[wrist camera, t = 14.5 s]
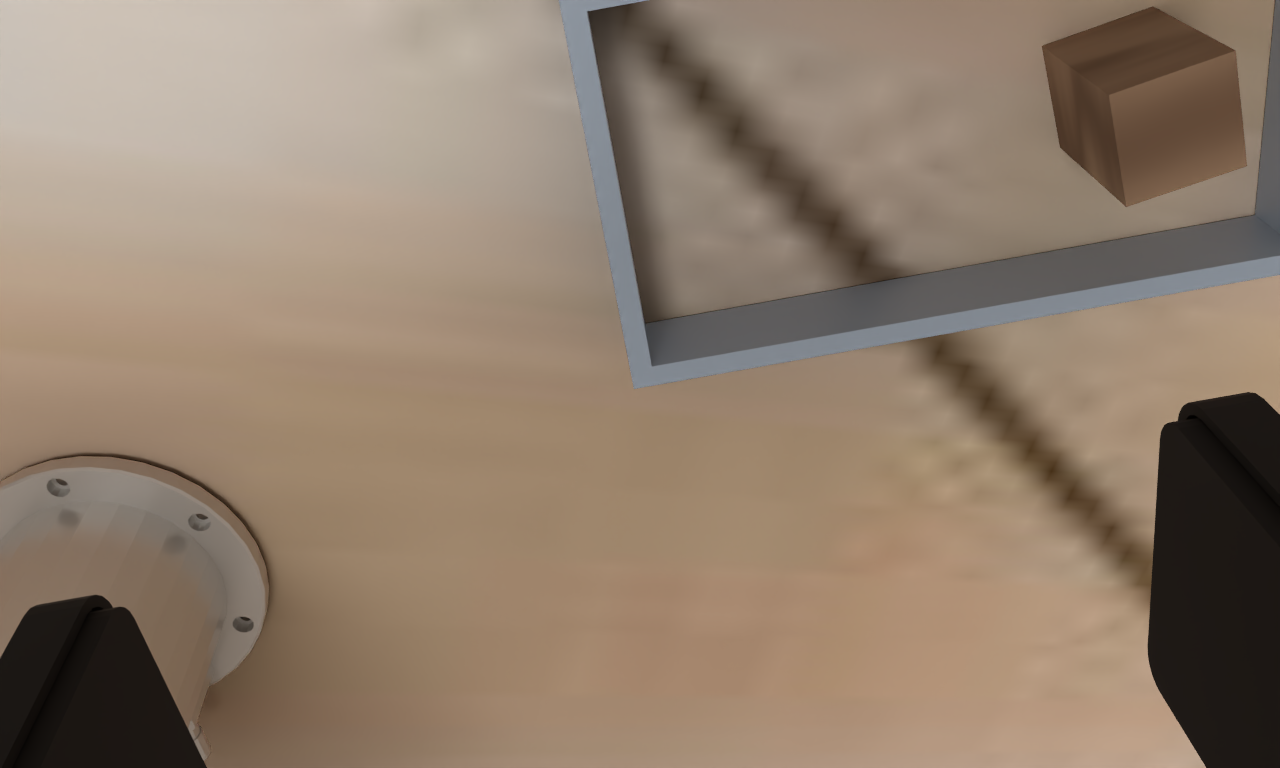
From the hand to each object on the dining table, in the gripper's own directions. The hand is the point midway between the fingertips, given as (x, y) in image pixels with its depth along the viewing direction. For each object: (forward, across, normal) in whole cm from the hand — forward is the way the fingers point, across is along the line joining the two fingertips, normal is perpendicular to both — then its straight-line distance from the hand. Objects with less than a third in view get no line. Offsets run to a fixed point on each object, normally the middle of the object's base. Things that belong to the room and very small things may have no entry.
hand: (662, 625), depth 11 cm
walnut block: (+34, -18, +8) cm, 40 cm away
